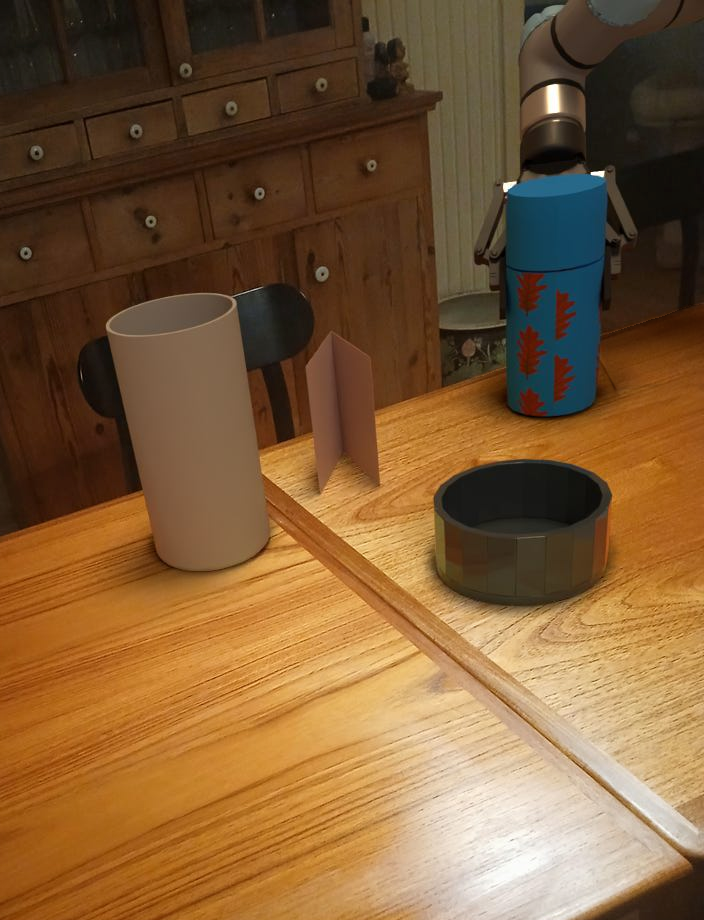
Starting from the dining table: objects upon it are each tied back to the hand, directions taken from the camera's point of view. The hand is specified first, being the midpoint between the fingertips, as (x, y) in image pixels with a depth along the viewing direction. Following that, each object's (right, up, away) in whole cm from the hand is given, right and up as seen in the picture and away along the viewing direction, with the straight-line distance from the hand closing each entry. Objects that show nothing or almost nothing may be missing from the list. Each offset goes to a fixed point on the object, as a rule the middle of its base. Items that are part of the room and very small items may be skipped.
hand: (554, 309), depth 114 cm
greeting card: (-23, -19, +2) cm, 30 cm away
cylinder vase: (-39, -28, -7) cm, 49 cm away
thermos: (+3, -8, +9) cm, 13 cm away
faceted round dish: (-10, -31, -20) cm, 38 cm away
